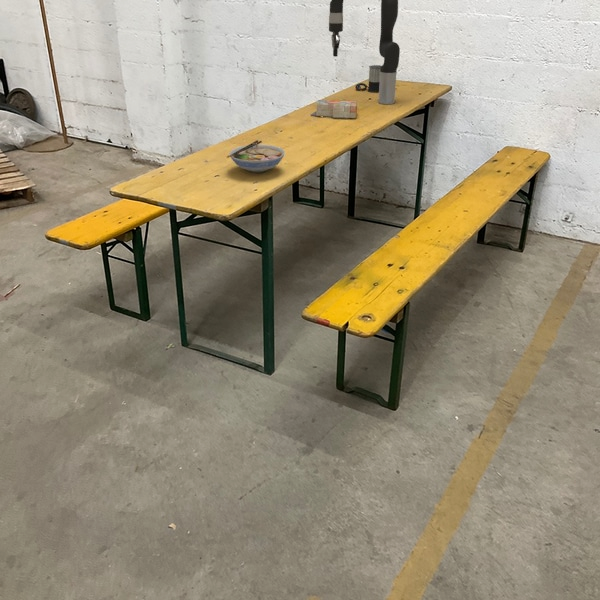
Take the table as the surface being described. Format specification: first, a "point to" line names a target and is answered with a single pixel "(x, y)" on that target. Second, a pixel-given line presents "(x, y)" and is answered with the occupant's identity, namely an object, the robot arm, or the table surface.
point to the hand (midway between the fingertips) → (335, 56)
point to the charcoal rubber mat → (326, 116)
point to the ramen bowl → (257, 156)
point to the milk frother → (372, 79)
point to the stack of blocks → (337, 108)
